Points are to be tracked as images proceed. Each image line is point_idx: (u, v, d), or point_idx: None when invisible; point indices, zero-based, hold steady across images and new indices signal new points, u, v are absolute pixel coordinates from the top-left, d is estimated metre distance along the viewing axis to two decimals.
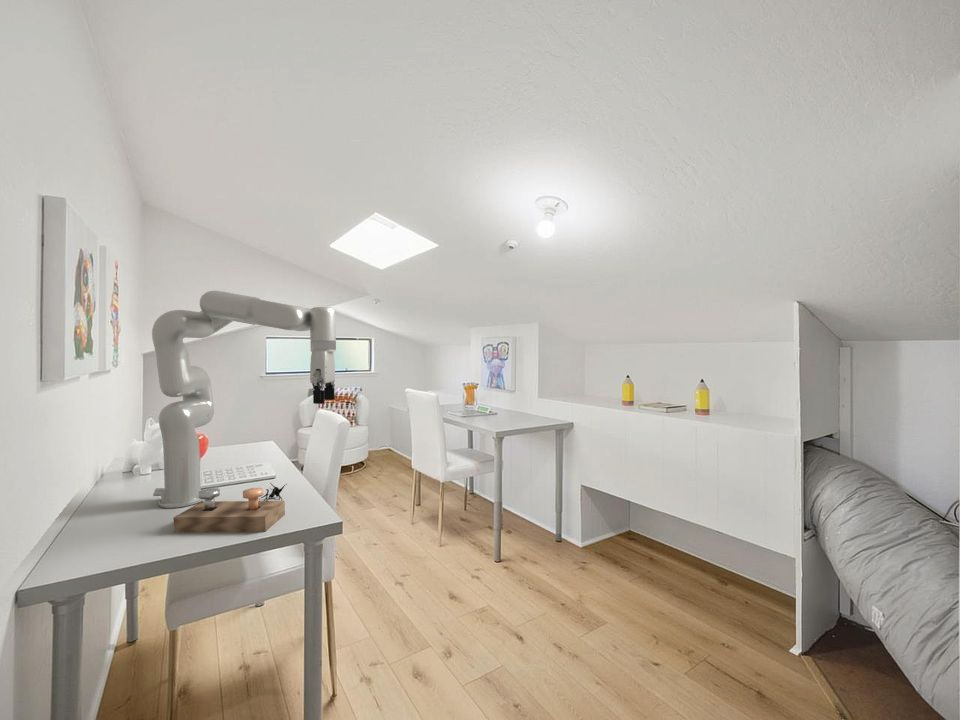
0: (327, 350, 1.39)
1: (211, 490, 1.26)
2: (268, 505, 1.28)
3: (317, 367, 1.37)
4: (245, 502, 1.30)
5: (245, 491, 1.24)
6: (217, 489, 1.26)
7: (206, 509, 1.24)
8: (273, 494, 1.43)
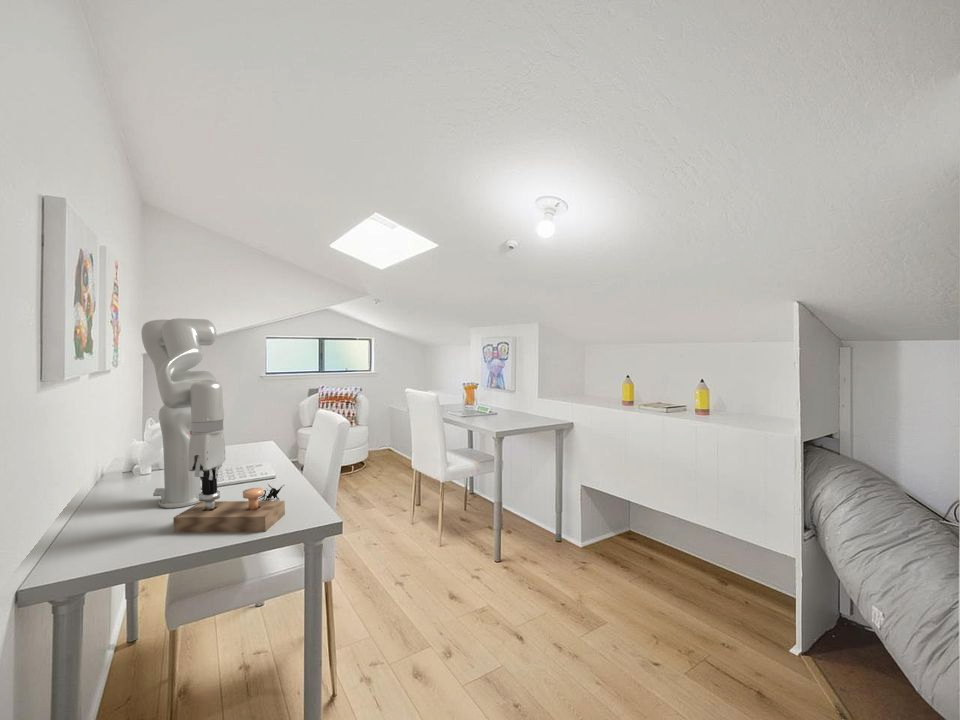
0: (209, 432, 1.22)
1: None
2: (268, 505, 1.28)
3: (196, 453, 1.20)
4: (245, 502, 1.30)
5: (245, 491, 1.24)
6: (217, 491, 1.26)
7: None
8: (270, 495, 1.42)
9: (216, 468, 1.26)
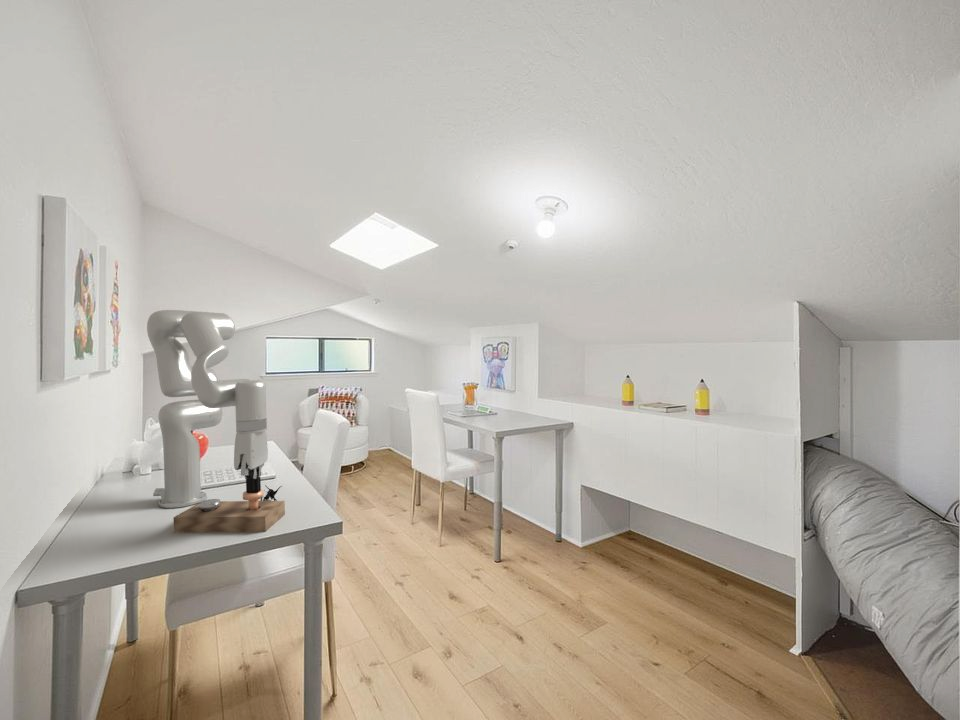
0: (254, 431, 1.22)
1: (211, 501, 1.26)
2: (268, 505, 1.28)
3: (242, 452, 1.20)
4: (245, 502, 1.30)
5: (245, 493, 1.24)
6: (217, 500, 1.26)
7: None
8: (268, 496, 1.41)
9: (259, 467, 1.26)
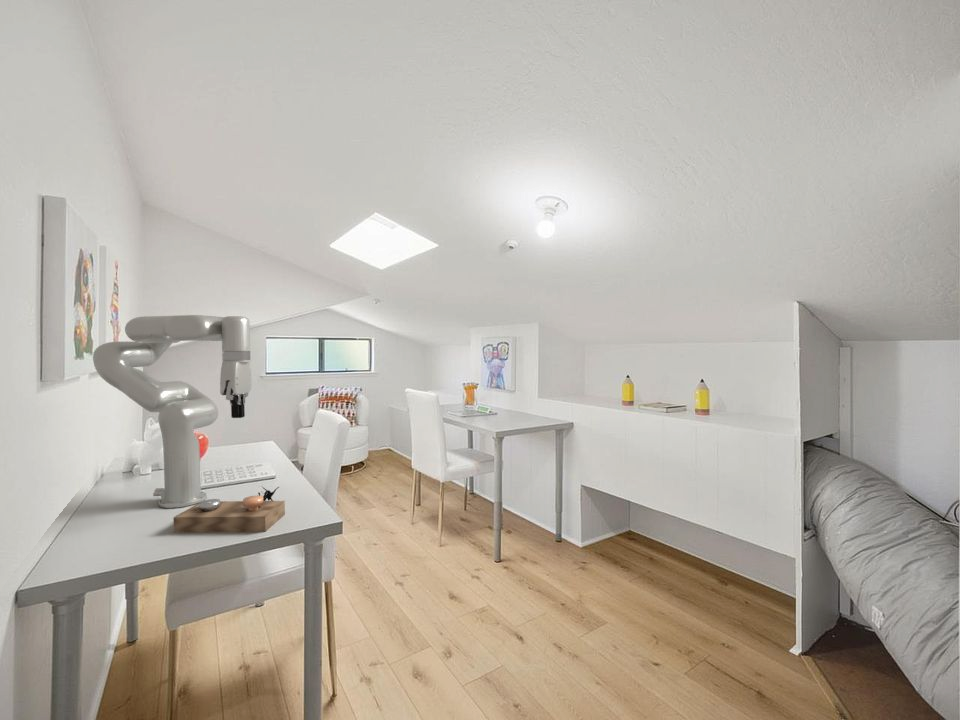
0: (238, 361, 1.35)
1: (211, 501, 1.26)
2: (268, 505, 1.28)
3: (227, 378, 1.33)
4: None
5: (245, 499, 1.25)
6: (217, 500, 1.26)
7: None
8: (265, 497, 1.40)
9: (244, 395, 1.40)
